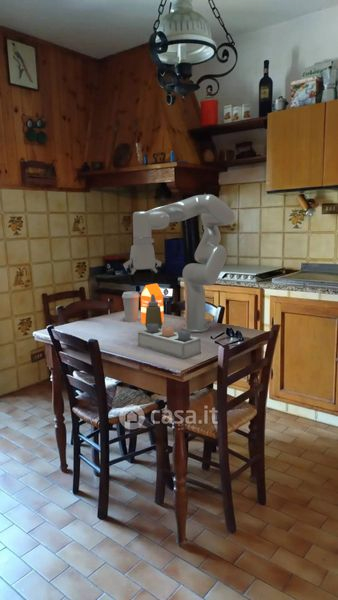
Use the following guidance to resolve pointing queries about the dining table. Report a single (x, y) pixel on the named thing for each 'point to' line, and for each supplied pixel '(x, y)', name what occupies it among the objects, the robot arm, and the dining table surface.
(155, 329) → the knob
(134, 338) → the dining table surface
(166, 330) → the middle knob
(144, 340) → the grey rectangular box
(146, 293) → the orange juice
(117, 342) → the dining table surface
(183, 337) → the knob
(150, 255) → the robot arm
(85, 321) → the dining table surface
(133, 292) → the coffee cup
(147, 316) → the squeeze bottle
